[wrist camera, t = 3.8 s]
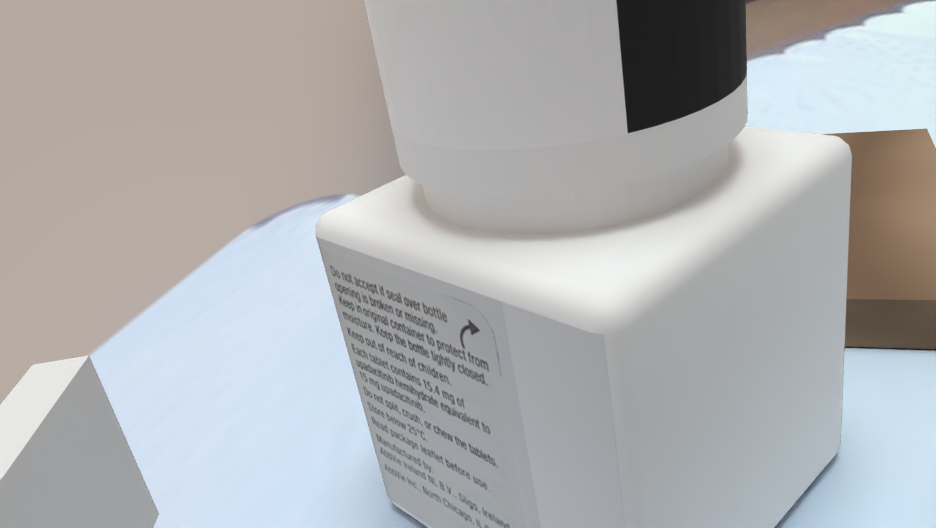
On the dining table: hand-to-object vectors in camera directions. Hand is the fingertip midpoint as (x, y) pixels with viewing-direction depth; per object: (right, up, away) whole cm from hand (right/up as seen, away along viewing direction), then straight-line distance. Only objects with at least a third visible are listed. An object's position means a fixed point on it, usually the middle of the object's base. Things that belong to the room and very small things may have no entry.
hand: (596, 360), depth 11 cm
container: (+2, -4, +9) cm, 10 cm away
